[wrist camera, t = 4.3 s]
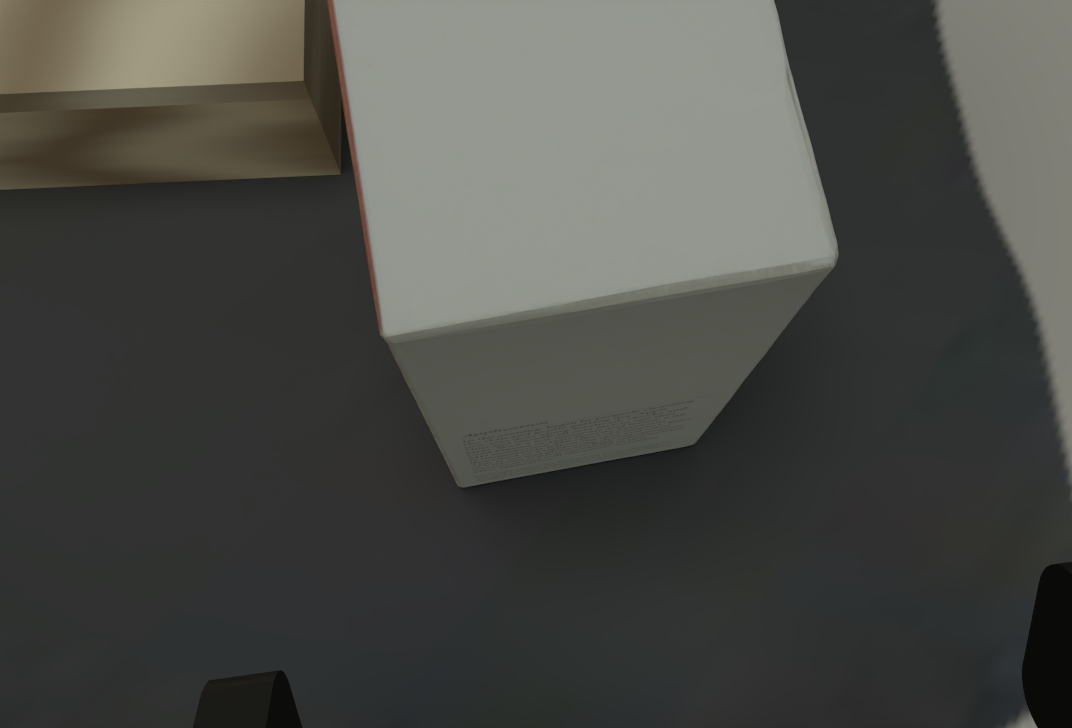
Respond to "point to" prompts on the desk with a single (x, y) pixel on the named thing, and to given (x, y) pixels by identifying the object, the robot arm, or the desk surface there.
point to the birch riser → (166, 91)
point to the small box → (577, 215)
